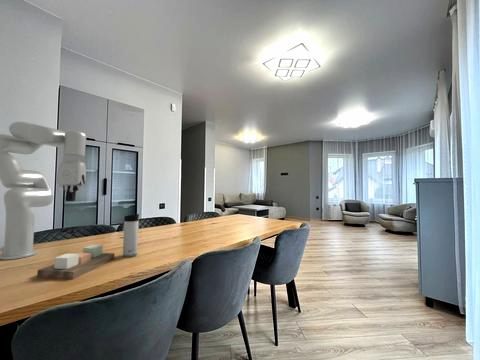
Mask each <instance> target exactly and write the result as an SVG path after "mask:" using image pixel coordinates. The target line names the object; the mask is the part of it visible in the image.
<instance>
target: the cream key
mask: <svg viewBox="0 0 480 360" xmlns="http://www.w3.org/2000/svg"><path fill="white" fill-rule="evenodd" d="M78 257H79V254H78V253H64V254H61V255H58V256H56V257H54V263H53V264H54V269H68V268H71V267H73V266H76V265H78Z"/></svg>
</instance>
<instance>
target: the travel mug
mask: <svg viewBox="0 0 480 360" xmlns="http://www.w3.org/2000/svg"><path fill="white" fill-rule="evenodd" d="M139 215H140V214H139V213H136V214H127V215H124V223H123V240H122V241H123V243H122V249H123V250H122V257H125V258H132V257H136V256H137V255H138V249H139V248H138V246H139V245H138V243H139Z"/></svg>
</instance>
